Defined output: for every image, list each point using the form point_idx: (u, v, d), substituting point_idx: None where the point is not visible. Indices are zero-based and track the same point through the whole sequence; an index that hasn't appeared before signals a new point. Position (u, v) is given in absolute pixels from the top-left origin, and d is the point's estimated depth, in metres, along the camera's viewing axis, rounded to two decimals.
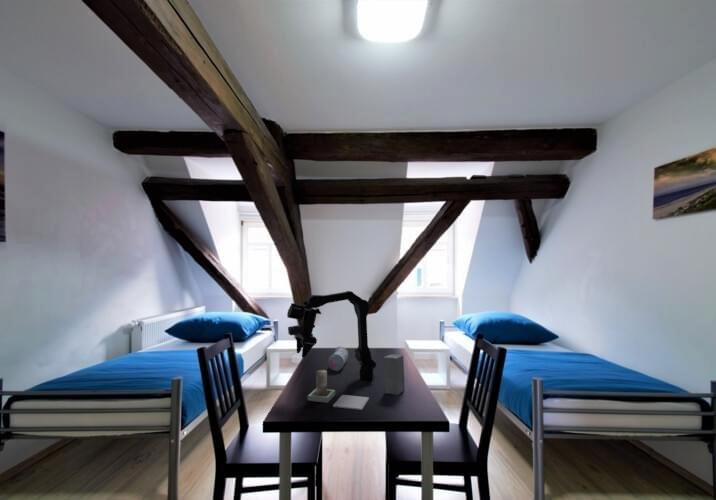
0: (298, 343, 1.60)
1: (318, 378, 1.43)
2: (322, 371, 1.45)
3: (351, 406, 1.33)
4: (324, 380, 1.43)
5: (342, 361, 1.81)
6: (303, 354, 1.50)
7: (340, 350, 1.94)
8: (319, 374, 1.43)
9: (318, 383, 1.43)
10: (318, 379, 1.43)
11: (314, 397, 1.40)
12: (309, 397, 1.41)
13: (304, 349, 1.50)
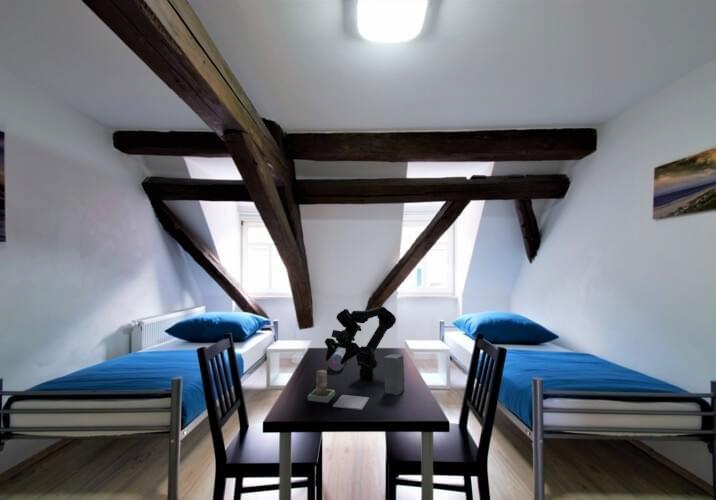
0: (329, 351, 1.56)
1: (318, 378, 1.43)
2: (322, 371, 1.45)
3: (351, 406, 1.33)
4: (324, 380, 1.43)
5: None
6: (343, 360, 1.48)
7: (340, 350, 1.94)
8: (319, 374, 1.43)
9: (318, 383, 1.43)
10: (318, 379, 1.43)
11: (314, 397, 1.40)
12: (309, 397, 1.41)
13: (346, 356, 1.49)
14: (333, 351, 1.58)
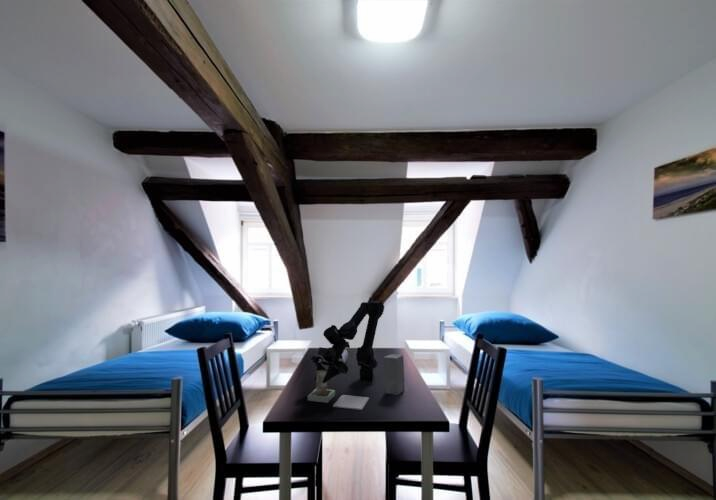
0: None
1: (318, 378, 1.43)
2: (322, 371, 1.45)
3: (351, 406, 1.33)
4: None
5: (342, 361, 1.81)
6: (325, 379, 1.42)
7: None
8: (319, 374, 1.43)
9: (318, 383, 1.43)
10: (318, 379, 1.43)
11: (314, 397, 1.40)
12: (309, 397, 1.41)
13: (329, 374, 1.43)
14: None
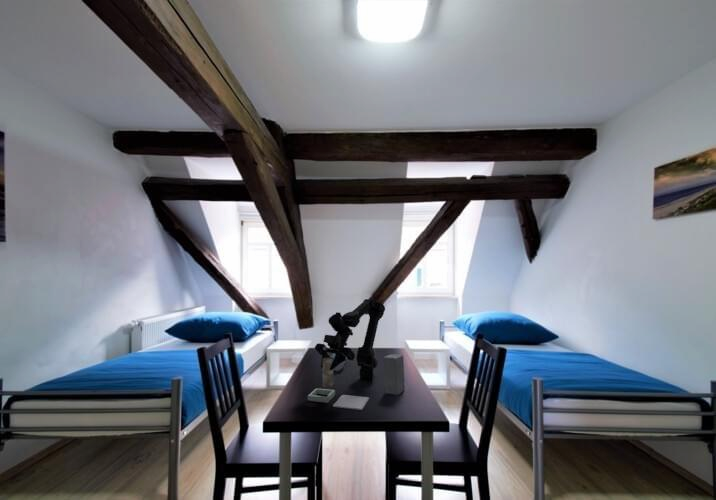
0: None
1: (325, 365, 1.41)
2: (328, 358, 1.44)
3: (351, 406, 1.33)
4: None
5: None
6: (332, 366, 1.41)
7: None
8: (326, 361, 1.41)
9: (325, 370, 1.41)
10: (325, 366, 1.41)
11: (314, 397, 1.40)
12: (309, 397, 1.41)
13: (336, 361, 1.42)
14: None
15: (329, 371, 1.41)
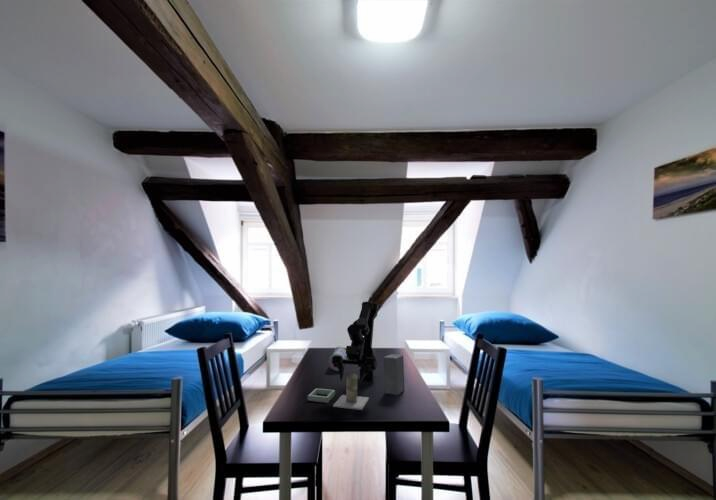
0: (342, 369, 1.41)
1: (351, 381, 1.37)
2: (351, 373, 1.40)
3: (351, 406, 1.33)
4: (356, 382, 1.38)
5: None
6: (362, 378, 1.37)
7: (340, 350, 1.94)
8: (352, 377, 1.37)
9: (351, 386, 1.37)
10: (351, 382, 1.37)
11: (314, 397, 1.40)
12: (309, 397, 1.41)
13: (364, 372, 1.39)
14: (343, 369, 1.44)
15: (355, 387, 1.37)
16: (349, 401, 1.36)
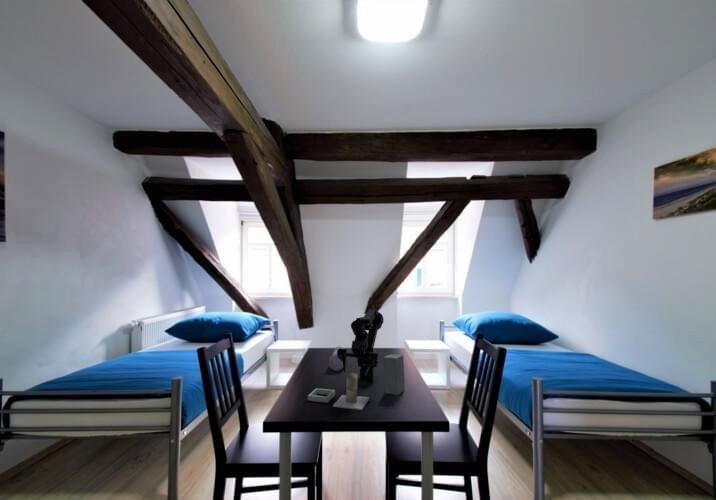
0: (345, 362, 1.50)
1: (351, 381, 1.37)
2: (351, 373, 1.40)
3: (351, 406, 1.33)
4: (356, 382, 1.38)
5: None
6: (366, 371, 1.47)
7: None
8: (352, 377, 1.37)
9: (351, 386, 1.37)
10: (351, 382, 1.37)
11: (314, 397, 1.40)
12: (309, 397, 1.41)
13: (368, 366, 1.48)
14: (346, 361, 1.53)
15: (355, 387, 1.37)
16: (349, 401, 1.36)
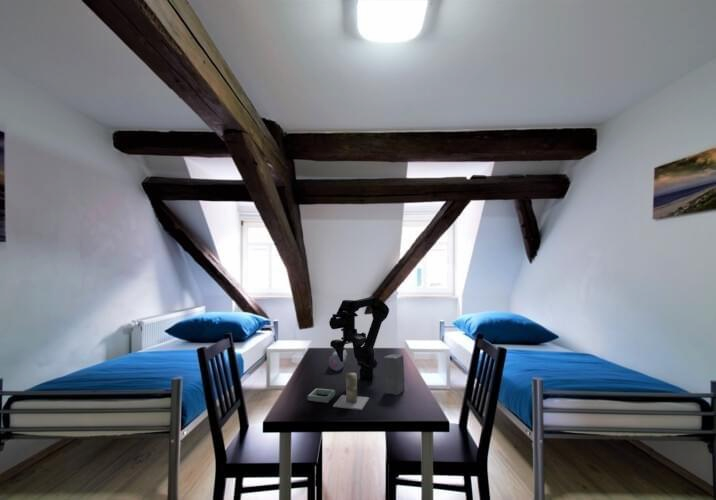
0: None
1: (351, 381, 1.36)
2: (351, 373, 1.39)
3: (351, 406, 1.33)
4: (356, 382, 1.38)
5: (343, 361, 1.81)
6: None
7: None
8: (352, 377, 1.37)
9: (350, 387, 1.36)
10: (350, 382, 1.36)
11: (314, 397, 1.40)
12: (309, 397, 1.41)
13: None
14: None
15: (355, 387, 1.37)
16: (349, 401, 1.36)
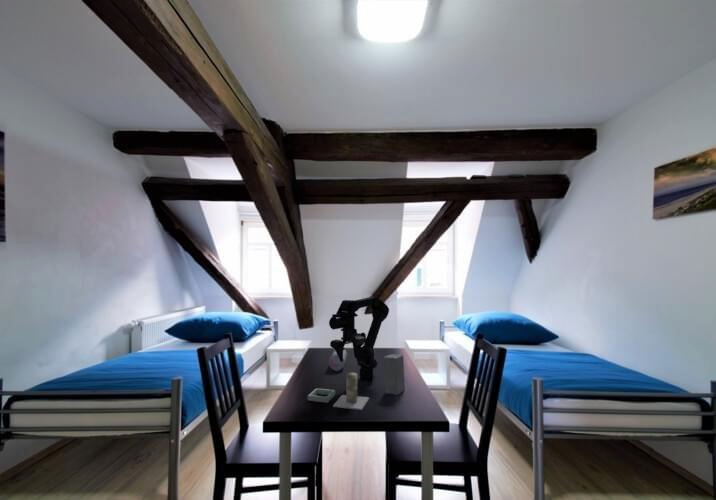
0: None
1: (351, 381, 1.36)
2: (351, 373, 1.39)
3: (351, 406, 1.33)
4: (356, 382, 1.38)
5: (343, 361, 1.81)
6: None
7: None
8: (352, 377, 1.37)
9: (351, 387, 1.36)
10: (351, 382, 1.36)
11: (314, 397, 1.40)
12: (309, 397, 1.41)
13: None
14: None
15: (355, 387, 1.37)
16: (349, 401, 1.36)
